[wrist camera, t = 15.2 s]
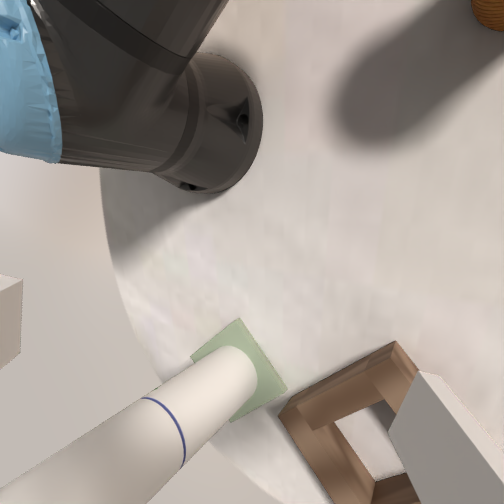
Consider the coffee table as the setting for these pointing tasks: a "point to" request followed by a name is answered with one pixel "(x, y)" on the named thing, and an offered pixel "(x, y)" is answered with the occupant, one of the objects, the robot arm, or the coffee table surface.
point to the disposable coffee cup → (489, 13)
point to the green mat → (266, 374)
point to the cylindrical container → (142, 438)
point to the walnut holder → (343, 404)
